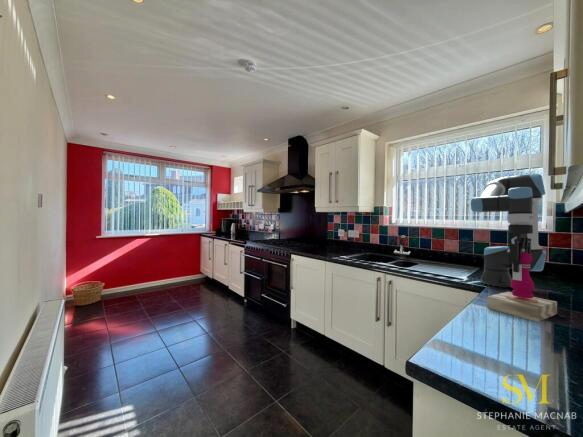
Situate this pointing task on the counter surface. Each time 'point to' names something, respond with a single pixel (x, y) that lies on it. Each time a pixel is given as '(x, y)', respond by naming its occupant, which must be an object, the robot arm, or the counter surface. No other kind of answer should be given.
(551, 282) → the counter surface
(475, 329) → the counter surface
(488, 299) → the birch stand
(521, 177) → the robot arm
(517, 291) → the pepper mill
